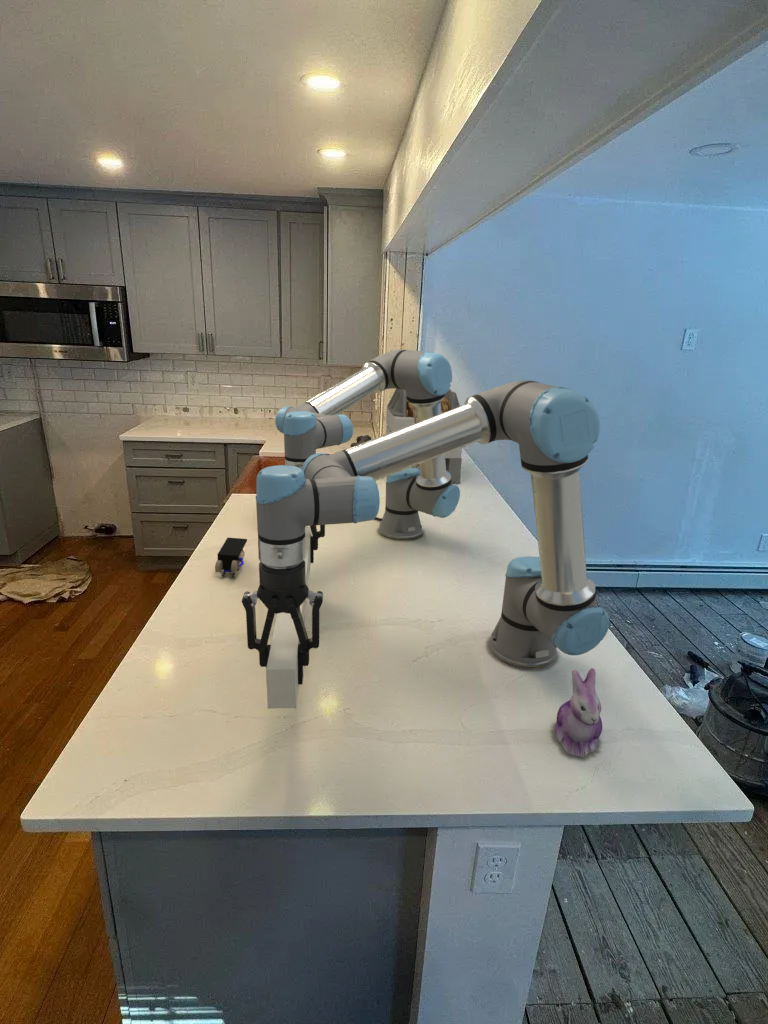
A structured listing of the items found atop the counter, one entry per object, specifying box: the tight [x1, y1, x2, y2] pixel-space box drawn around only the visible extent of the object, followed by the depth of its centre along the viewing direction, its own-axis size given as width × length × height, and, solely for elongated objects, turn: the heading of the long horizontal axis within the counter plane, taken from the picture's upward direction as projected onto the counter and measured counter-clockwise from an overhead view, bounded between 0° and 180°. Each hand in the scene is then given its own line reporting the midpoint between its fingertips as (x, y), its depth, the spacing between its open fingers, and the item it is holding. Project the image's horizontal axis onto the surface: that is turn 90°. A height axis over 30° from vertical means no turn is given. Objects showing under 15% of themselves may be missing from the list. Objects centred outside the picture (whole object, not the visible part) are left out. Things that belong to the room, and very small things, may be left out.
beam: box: [265, 526, 312, 710], centre depth 123 cm, size 64×5×8 cm, turn 5°
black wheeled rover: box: [214, 537, 248, 578], centre depth 166 cm, size 7×8×15 cm
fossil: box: [349, 434, 372, 448], centre depth 303 cm, size 22×10×15 cm
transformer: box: [385, 388, 463, 484], centre depth 268 cm, size 34×33×41 cm
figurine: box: [554, 667, 603, 758], centre depth 104 cm, size 9×10×15 cm
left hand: (301, 560), depth 148 cm, fingers closed on beam, 5 cm apart
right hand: (285, 679), depth 101 cm, fingers closed on beam, 5 cm apart
